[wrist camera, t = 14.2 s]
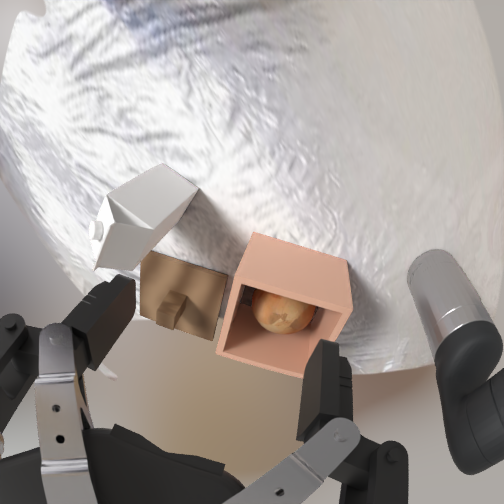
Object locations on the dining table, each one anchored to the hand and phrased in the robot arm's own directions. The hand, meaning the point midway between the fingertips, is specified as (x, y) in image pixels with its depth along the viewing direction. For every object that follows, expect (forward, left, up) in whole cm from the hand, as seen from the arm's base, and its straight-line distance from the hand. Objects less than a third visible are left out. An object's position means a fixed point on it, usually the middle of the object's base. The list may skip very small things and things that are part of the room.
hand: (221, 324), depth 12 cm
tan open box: (-6, +20, -33) cm, 39 cm away
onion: (-6, +20, -33) cm, 39 cm away
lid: (+12, +29, -32) cm, 45 cm away
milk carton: (+16, +10, -33) cm, 38 cm away
